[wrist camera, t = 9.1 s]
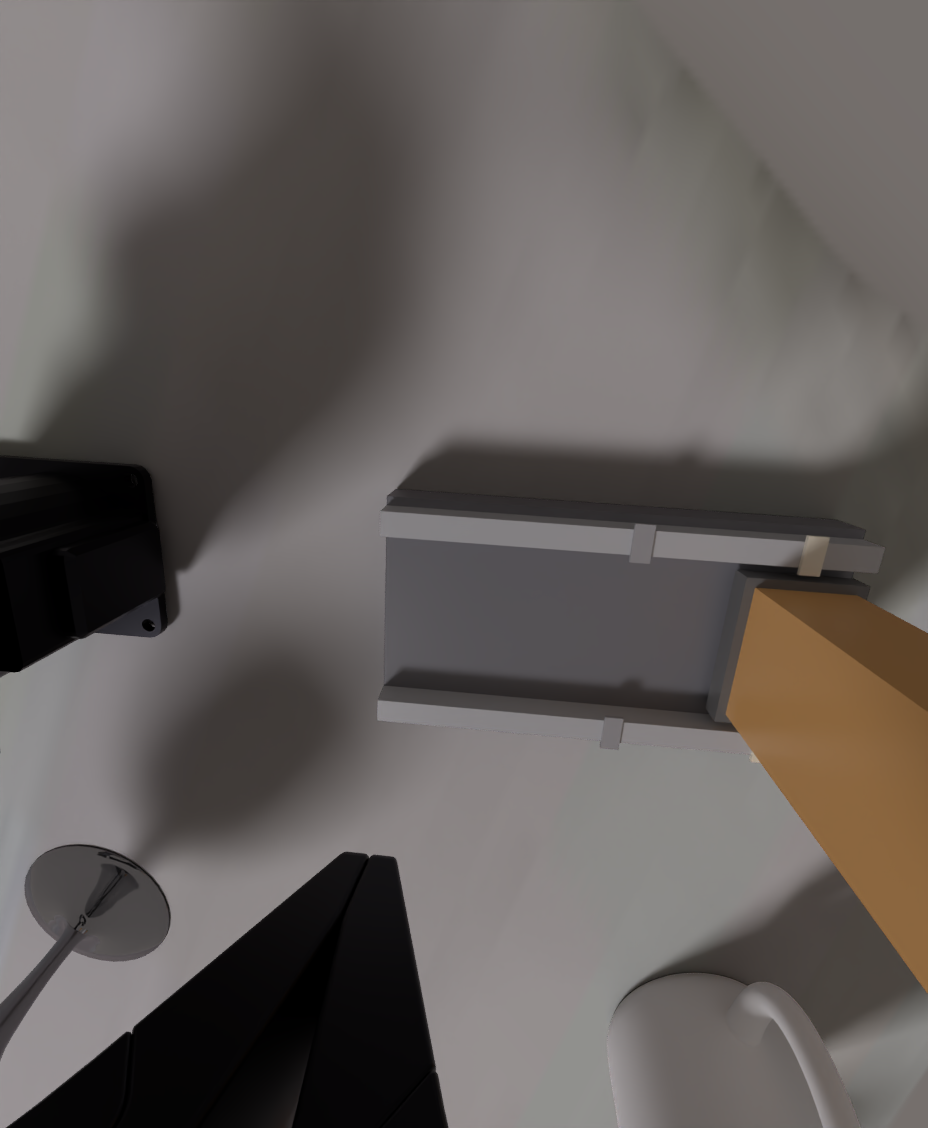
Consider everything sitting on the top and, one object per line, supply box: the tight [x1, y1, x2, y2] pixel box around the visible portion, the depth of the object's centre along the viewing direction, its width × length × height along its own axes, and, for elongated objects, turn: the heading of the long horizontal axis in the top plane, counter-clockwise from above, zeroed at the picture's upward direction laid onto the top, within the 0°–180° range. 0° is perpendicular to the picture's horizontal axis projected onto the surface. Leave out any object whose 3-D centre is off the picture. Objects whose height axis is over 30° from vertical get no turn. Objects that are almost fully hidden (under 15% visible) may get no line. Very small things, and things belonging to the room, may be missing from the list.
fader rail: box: [377, 489, 885, 763], centre depth 18 cm, size 15×8×3 cm, turn 87°
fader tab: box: [706, 570, 928, 993], centre depth 13 cm, size 4×5×10 cm
